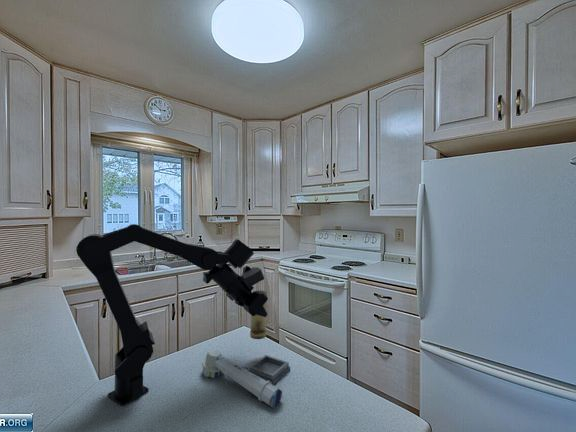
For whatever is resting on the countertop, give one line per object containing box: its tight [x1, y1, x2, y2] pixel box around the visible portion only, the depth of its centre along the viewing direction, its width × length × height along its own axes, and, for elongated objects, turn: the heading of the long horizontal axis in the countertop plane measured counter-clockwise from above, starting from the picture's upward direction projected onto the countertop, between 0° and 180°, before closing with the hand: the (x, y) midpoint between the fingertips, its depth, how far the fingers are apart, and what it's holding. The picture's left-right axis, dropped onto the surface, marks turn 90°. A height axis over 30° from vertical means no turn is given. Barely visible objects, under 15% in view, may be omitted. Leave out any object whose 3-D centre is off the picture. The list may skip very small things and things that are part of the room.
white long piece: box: [201, 348, 283, 409], centre depth 70 cm, size 5×7×25 cm
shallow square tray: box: [248, 354, 291, 386], centre depth 76 cm, size 8×8×2 cm
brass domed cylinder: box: [249, 290, 268, 340], centre depth 84 cm, size 5×5×13 cm
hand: (262, 313), depth 84 cm, fingers closed on brass domed cylinder, 4 cm apart
